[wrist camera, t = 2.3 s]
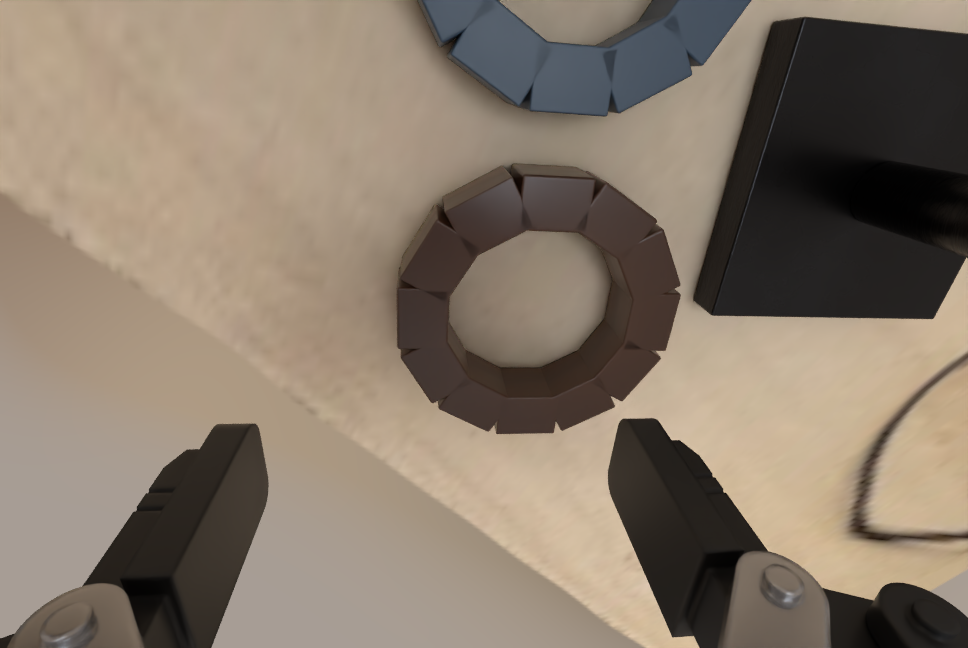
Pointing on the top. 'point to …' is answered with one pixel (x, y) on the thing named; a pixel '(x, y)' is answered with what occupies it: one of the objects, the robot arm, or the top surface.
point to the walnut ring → (572, 379)
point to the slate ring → (580, 53)
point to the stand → (846, 177)
